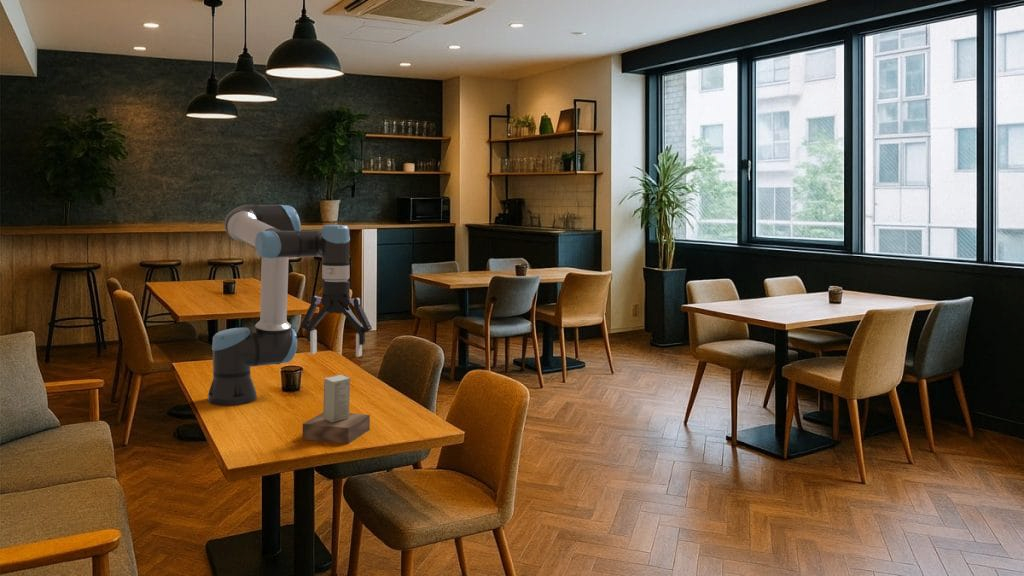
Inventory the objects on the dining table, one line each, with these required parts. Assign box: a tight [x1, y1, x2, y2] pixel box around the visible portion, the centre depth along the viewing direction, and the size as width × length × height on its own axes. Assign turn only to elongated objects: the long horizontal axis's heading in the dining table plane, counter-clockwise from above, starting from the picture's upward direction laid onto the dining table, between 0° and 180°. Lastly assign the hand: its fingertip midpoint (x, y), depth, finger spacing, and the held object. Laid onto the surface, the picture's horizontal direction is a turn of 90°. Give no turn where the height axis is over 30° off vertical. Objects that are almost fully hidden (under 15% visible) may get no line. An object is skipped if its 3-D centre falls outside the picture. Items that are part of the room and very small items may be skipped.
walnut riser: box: [302, 412, 371, 445], centre depth 230 cm, size 14×14×5 cm
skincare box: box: [322, 373, 351, 422], centre depth 229 cm, size 6×4×12 cm
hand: (336, 354), depth 228 cm, fingers open, 13 cm apart
